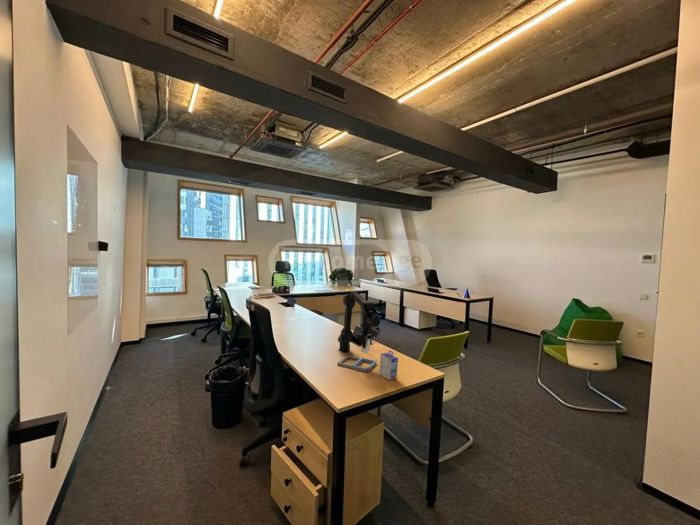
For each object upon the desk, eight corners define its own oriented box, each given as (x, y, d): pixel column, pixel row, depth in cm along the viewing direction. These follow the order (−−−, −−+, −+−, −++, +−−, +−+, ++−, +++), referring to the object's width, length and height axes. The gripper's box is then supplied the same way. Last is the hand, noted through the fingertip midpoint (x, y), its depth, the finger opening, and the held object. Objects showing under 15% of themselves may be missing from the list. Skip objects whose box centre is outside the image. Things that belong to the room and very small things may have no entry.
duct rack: (337, 365, 179) (337, 361, 179) (348, 357, 193) (348, 354, 193) (367, 372, 171) (367, 369, 171) (376, 363, 185) (376, 360, 184)
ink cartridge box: (397, 378, 165) (398, 353, 164) (389, 380, 162) (391, 355, 161) (386, 372, 173) (387, 348, 172) (378, 374, 170) (380, 349, 169)
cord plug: (361, 351, 178) (361, 339, 178) (363, 350, 182) (364, 337, 182) (367, 353, 177) (367, 340, 176) (369, 351, 180) (370, 338, 180)
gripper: (373, 328, 167) (372, 354, 167) (384, 321, 184) (382, 345, 184) (356, 325, 171) (354, 351, 172) (367, 318, 188) (366, 342, 189)
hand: (365, 347), depth 179 cm, fingers closed on cord plug, 4 cm apart
